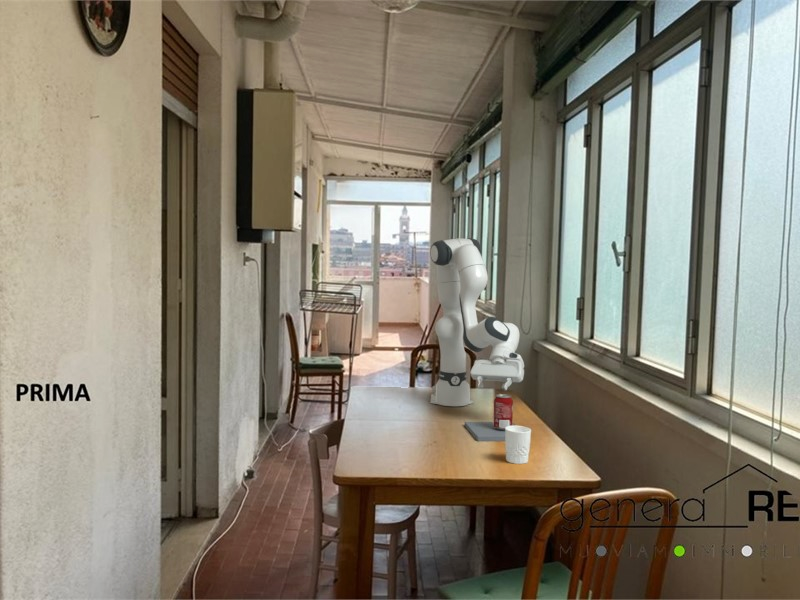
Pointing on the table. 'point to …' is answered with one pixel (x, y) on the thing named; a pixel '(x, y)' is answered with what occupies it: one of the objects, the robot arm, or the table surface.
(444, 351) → the robot arm
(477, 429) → the slate board
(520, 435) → the white cup
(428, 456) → the table surface
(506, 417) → the soda can
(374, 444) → the table surface
